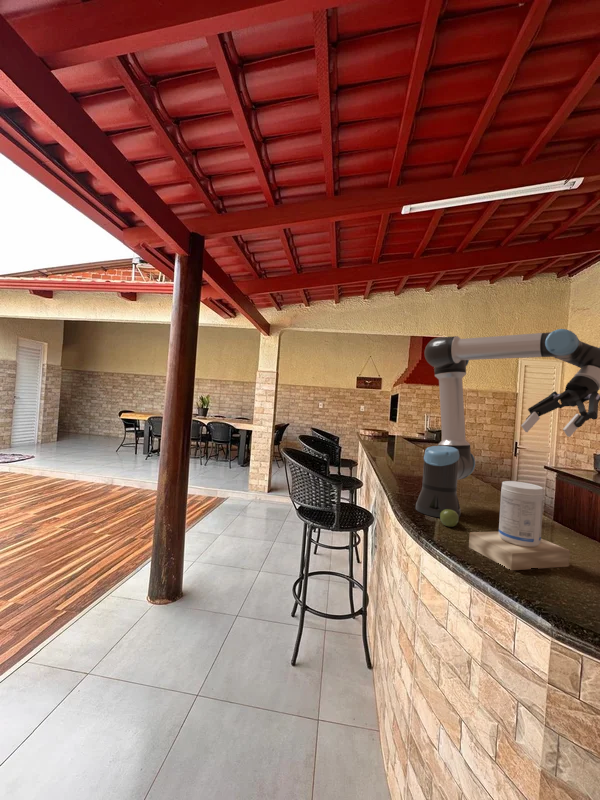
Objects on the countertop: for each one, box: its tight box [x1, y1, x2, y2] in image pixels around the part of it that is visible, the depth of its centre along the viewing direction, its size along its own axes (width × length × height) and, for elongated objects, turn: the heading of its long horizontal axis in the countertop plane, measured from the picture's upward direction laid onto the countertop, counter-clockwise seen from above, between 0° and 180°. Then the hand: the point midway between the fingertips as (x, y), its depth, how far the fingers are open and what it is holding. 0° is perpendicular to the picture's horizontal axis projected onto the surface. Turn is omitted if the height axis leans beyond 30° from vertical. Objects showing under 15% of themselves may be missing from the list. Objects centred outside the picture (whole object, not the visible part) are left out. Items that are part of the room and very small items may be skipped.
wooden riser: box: [468, 530, 571, 571], centre depth 97 cm, size 14×18×4 cm
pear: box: [439, 509, 460, 528], centre depth 122 cm, size 6×5×10 cm
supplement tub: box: [498, 480, 544, 547], centre depth 97 cm, size 10×10×15 cm
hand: (543, 430), depth 110 cm, fingers open, 13 cm apart
